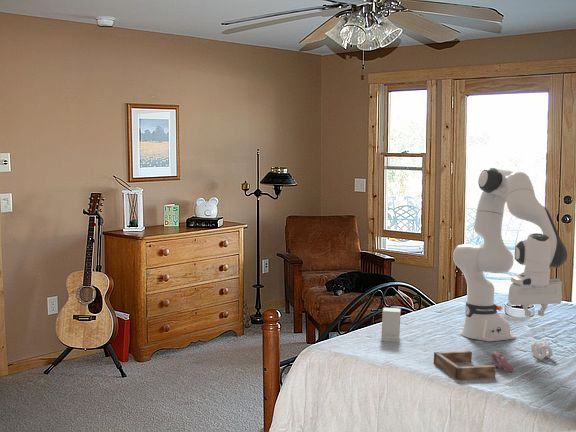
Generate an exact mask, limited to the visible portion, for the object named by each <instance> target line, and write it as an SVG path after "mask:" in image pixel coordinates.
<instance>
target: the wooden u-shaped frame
mask: <svg viewBox="0 0 576 432" xmlns="http://www.w3.org/2000/svg"><path fill="white" fill-rule="evenodd" d="M472 354H473V352H472V351H471V350H459V351H458V350H457V351H455V350H454V351H439V352H438V351H437V352H436V351H435V352H433V364H434V365H436V366H437V367H439V368H440V369H442V370H443V371H444V372H445V373H447V374H448V375H450V376H451V377H453V378H454V379H456V380H457V381H459V380H460V381H461V380H463V381H464V380H475V379H476V380H477V379H494V378H496V370H497V369H496V368H497V365H494V364H493V365H492V364H490V365H471V366H469V365H468V366H459V365H458V364H463V363H464V364H465V363H466V364H467V363H472V358H473V357H472V356H473V355H472Z"/></svg>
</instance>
